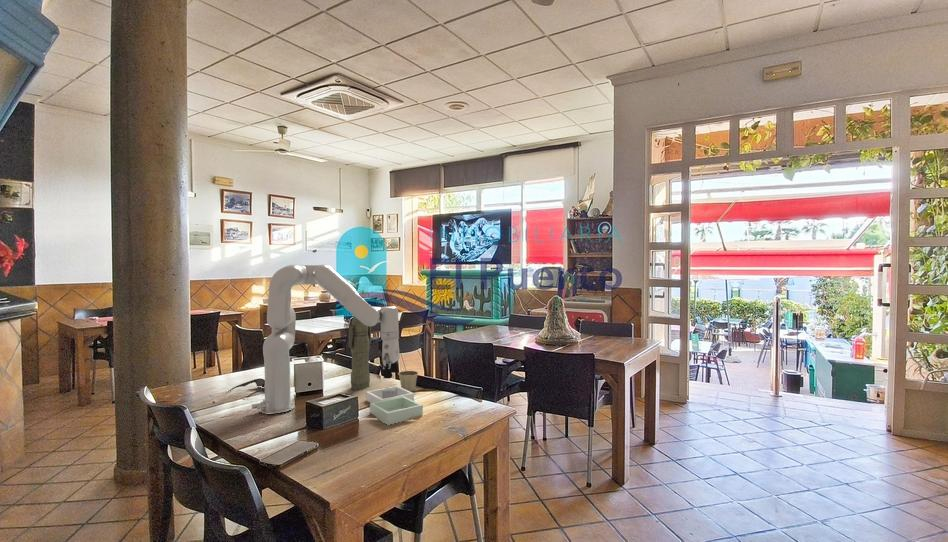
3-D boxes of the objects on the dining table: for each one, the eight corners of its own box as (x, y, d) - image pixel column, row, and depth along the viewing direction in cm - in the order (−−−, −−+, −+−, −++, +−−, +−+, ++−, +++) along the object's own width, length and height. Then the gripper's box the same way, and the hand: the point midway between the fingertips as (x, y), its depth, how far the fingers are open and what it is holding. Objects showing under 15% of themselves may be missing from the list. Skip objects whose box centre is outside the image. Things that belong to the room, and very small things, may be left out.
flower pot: (420, 388, 208) (420, 370, 207) (415, 394, 198) (415, 375, 198) (401, 388, 208) (401, 370, 208) (395, 394, 199) (395, 375, 199)
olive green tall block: (375, 386, 212) (375, 314, 212) (357, 392, 202) (357, 317, 202) (363, 383, 217) (362, 313, 217) (344, 389, 207) (344, 316, 207)
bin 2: (387, 425, 159) (387, 413, 159) (370, 414, 171) (370, 403, 171) (422, 416, 169) (422, 405, 168) (403, 407, 180) (403, 396, 180)
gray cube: (393, 403, 183) (393, 391, 183) (382, 402, 184) (382, 390, 184) (397, 399, 188) (397, 388, 188) (386, 399, 189) (386, 387, 188)
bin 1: (381, 411, 175) (381, 400, 175) (366, 402, 187) (365, 391, 187) (414, 403, 184) (414, 393, 184) (397, 395, 196) (397, 385, 196)
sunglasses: (277, 391, 204) (276, 381, 204) (243, 405, 190) (241, 394, 190) (257, 386, 213) (256, 376, 212) (222, 399, 199) (221, 389, 198)
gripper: (392, 338, 177) (393, 380, 177) (404, 332, 194) (405, 370, 194) (374, 338, 177) (375, 380, 178) (387, 332, 195) (388, 370, 195)
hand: (391, 375), depth 186 cm, fingers open, 9 cm apart
